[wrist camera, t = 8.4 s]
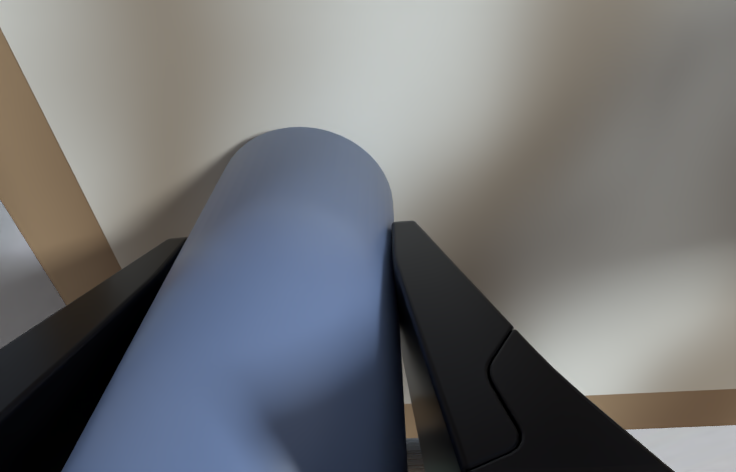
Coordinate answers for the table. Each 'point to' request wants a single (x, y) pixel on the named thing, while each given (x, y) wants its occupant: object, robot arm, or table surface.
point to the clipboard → (418, 156)
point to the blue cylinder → (268, 327)
